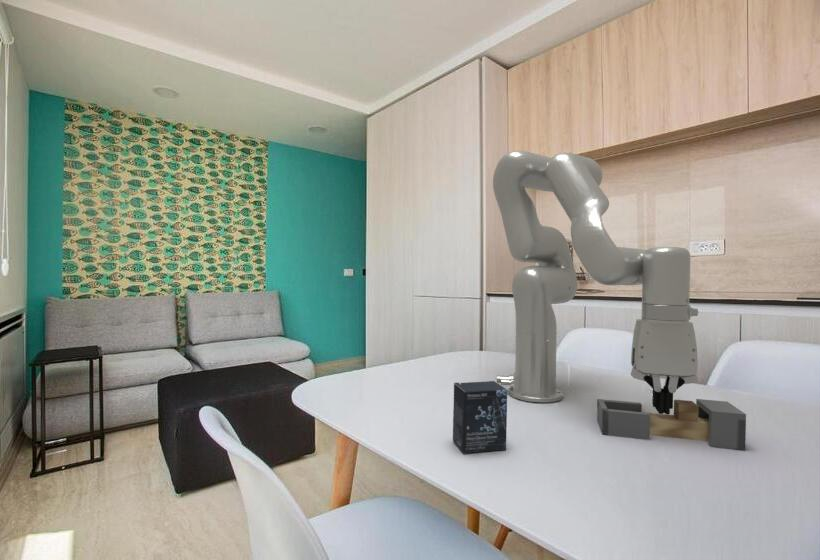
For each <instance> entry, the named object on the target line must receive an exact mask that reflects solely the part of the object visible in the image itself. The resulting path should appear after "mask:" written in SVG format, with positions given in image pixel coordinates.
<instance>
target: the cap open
mask: <svg viewBox="0 0 820 560" xmlns="http://www.w3.org/2000/svg"><path fill="white" fill-rule="evenodd" d="M596 406H597V411H596V412H597V413H596V421H597V425H598V426H599V429H601V430H600V432H601V434H602V435H603V436H614V437H623V438H630V439H631V438H632V439H640V440H648V441H649V440H650V438H651V437H650V436H651V435H650V414H649V413H650V412H645V411H643V404H642V403H641V402H635V401H623V400H613V399H602V398H597V405H596ZM634 411H635V412H634Z"/></svg>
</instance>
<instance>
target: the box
mask: <svg viewBox="0 0 820 560" xmlns="http://www.w3.org/2000/svg"><path fill="white" fill-rule="evenodd" d="M452 414H453V415H452V416H453V417H452V441H453V442H454V444H455V445H456V447H457V449H459V451H460V452H461V453H462V454H463V455H465V454H469V453H470V454H471V453H472V454H473V453H481V452H493V451H506V449H507V426H508V425H507V417H508V389H507V388H506V387H504V386H503V385H501V384H500V383H497V381H495V380H490V381H472V382H471V381H470V382H454V383H453V412H452Z"/></svg>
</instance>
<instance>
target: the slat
mask: <svg viewBox="0 0 820 560" xmlns="http://www.w3.org/2000/svg"><path fill="white" fill-rule="evenodd" d="M634 412H635V411H634ZM648 413H649V414H650V436H655V437H664V438H673V439H675V438H676V439H684V440H693V441H702V442H708V435H709V419H708V418H698V405H696V403H695V402H694V401H692V400H685V399H684V400H683V399H673V414H665V413H663V414H659V413H655V412H648Z"/></svg>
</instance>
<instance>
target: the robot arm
mask: <svg viewBox="0 0 820 560" xmlns="http://www.w3.org/2000/svg"><path fill="white" fill-rule="evenodd" d="M602 180H603V170H602V167H601V166H600V164H599V163H598V162H597V161H596V160H595V159H592V158H590V157H587V156H583V155H579V154H575V153H572V152H561V153H557V154H555V155H554V156H552V157H550V156H549V157H548V156H545V155H542V154H538V153H534V152H530V151H525V150H512V151H509V152H507V153H506V154H504V155H503V156H502V157H501V158H500V159H499V160H498V163H497V164H496V166H495V169H494V173H493V177H492V188H493V193H494V197H495V200H496V203H497V206H498V208H499V211H500V215H501V218H502V225H503V229H504V232H505V236H506V242H507V245H508V249H509V252H510V253H509V254H511V256H512V258H513V259H514V260H515V261H517V262H521V263H529V264H530V263H531V264H538V265H529V266H525V267H523V268H521V269H520V270H518V271H517V273H516V274H514V277H513V279H512V282H511V283H512V284H511V290H512V295H513V296H512V297H513V302H514V309H515V310H514V311H515V360H514V361H515V363H514V364H515V365H514V366H515V371H514V373H513V374H511V375H509V376H505V375H496V383H498V384H500V385H501V386H509V387H508V394H509V396H511V397H512V398H514V399H517V400H521V401H524V402H532V403H542V404H543V403H554V402H559V401H561V400H562V399H563V392H562V391H561V390H560V389H558V388H557V386H556V385H557V336H558V335H557V329H558V328H557V318H556V314H555V311H554V308H553V306H552V305H557V304H559V305H560V304H565V303H568V302H570V301H571V300H572V299H573V298H574V297H575V296H576V294H577V291H578V286H579V285H578V284H579V283H578V278H577V273H576V270H575V265H574V261H573V259H572V254H571V251H570V247H569V244H568V241H567V239H566V237H565V235H564V234H563V233H562V232H561V231H560V230H559V229H557V228H555V227H552V226H546V225H542V224H541V223H540V220H539V216H538V213H537V209H536V206H535V204H534V201H533V200H532V198H531V196H530V195H529V194H528V193H527V191H526V189H532V190H535V191H542V192H551V193H553V194H554V196H555V198H556V199H557V200H558V202H559V204H560V205H561V207H562V208H563V211H564V212H565V214H566V216H567V217H568V219H569V221H570V223H571V225H570V238H571V244H572V247H573V250H574V251H575V254H576V256H577V258H578V259H579V261H580V263H581V264H582V266H583V268H584V269H585V271H586V272H587V273H588V274H589V276H590V277H591V278H592V279H593V280H594V281H595V282H597V283H599V284H600V285H604V286H639V285H641V287H642V288H641V319H640V318H637V319H636V320H635V321H636V322H635V323H634V324H635V325H634V330H633V335H632V343H631V352H630V353H631V356H630V364H631V367H632V368H631V372H630V376H631V377H632V378H633V379H635V380H639V381H643V382H646V383H647V385H648V386H649V387H651V389H653V396H652V399H651V400H652V407H653V408H655V410H656V411H657V413H658V414H666V415H671V410H674V394H675V393H676V392H677V390H678V389H680V388H681V387H683V385H688V384H690V385H691V384H696V383H697V382H698V377H697V373H698V364H699V363H698V362H699V360H698V346H697V337H696V332H695V327H694V323H693V322H691V321H690V320H691V318H692V317H697V316H699V309H698V308H693V307H691V305H690V291H691V289H690V288H691V287H690V286H691V254H690V251H689V250H688V249H687V248H684V247H680V246H679V247H678V246H676V247H675V246H664V247H663V246H661V247H660V246H659V247H658V246H657V247H651V248H648V249H642V248H634V247H624V246H623V247H621V246H617V245H616V244H615V242H614V241H613V239H612V238H611V237H610V235H609V234H608V233H609V232H607V230H606V228H605V226H604V223H603V220H602V217H603V215H604V214H605V213H607V211H608V209H609V207H610V201H609V198H608V196H607V195H606V194H605V193H604V191H603V189H602V188H601V187H600V186H601V183H602ZM661 376H662V377H663V376H664V377H665V380H664V386H663V387H662V384H661Z"/></svg>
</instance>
